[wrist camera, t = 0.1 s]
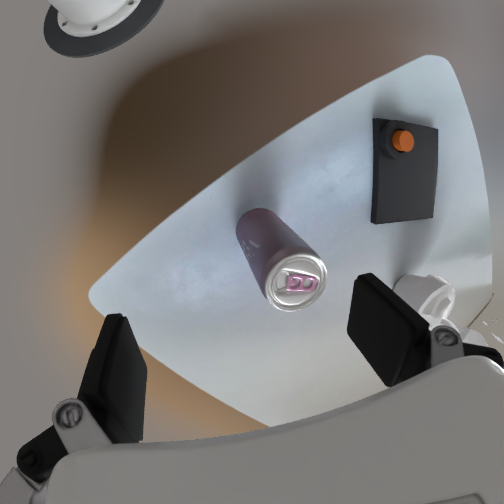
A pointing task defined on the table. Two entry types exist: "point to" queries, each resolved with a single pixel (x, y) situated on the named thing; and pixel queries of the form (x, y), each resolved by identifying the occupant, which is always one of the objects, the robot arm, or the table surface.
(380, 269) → the table surface
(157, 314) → the table surface
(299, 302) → the beverage can
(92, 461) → the robot arm
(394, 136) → the button
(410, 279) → the potted plant
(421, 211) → the push button plate
